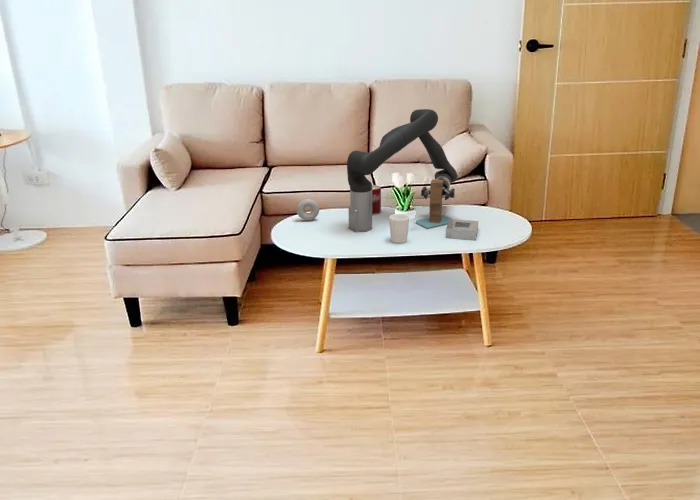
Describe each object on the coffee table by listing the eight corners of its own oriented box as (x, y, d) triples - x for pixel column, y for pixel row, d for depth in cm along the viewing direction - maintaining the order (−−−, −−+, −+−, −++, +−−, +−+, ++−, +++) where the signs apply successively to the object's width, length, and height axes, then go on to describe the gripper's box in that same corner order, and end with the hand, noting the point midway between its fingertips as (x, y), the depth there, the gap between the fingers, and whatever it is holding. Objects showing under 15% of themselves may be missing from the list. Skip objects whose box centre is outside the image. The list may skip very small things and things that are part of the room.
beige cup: (386, 242, 253) (386, 219, 249) (392, 235, 259) (393, 212, 255) (405, 244, 250) (405, 221, 246) (411, 238, 256) (411, 215, 253)
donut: (319, 218, 280) (318, 197, 277) (320, 220, 277) (319, 199, 273) (297, 219, 279) (295, 198, 275) (297, 222, 276) (296, 200, 272)
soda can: (379, 215, 283) (379, 189, 278) (363, 214, 284) (363, 189, 280) (382, 210, 289) (382, 185, 285) (366, 209, 291) (366, 184, 286)
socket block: (475, 240, 253) (475, 231, 251) (445, 237, 256) (446, 228, 254) (477, 229, 263) (478, 221, 262) (449, 227, 266) (449, 218, 265)
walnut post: (439, 223, 270) (441, 183, 263) (429, 222, 271) (430, 182, 264) (441, 219, 274) (442, 180, 267) (430, 218, 275) (432, 179, 268)
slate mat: (427, 229, 265) (427, 227, 265) (413, 222, 273) (413, 221, 273) (457, 222, 272) (457, 220, 272) (443, 215, 281) (443, 214, 280)
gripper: (425, 177, 281) (419, 187, 267) (457, 179, 278) (452, 190, 263) (425, 193, 284) (418, 204, 270) (456, 195, 281) (452, 206, 266)
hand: (435, 197), depth 267 cm, fingers open, 8 cm apart
